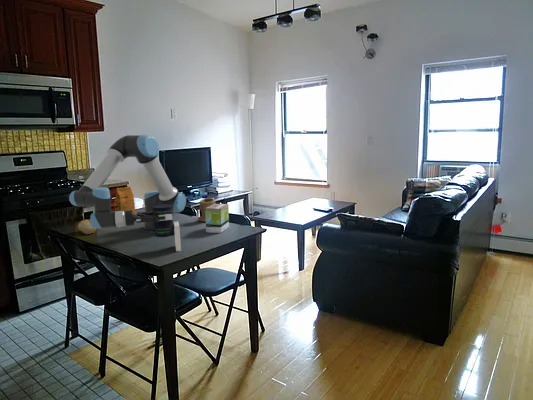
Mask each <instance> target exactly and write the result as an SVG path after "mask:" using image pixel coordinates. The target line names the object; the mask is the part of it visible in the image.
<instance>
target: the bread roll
mask: <svg viewBox="0 0 533 400" xmlns="http://www.w3.org/2000/svg"><path fill="white" fill-rule="evenodd" d="M77 229H78V230H79V231H80V232H81V233H83V234H85V235H88V234H90V235H92V234H91V233H93V234H95V233H96V230H97V228H93V227H92V226H91V218H89V219H83V220H81V221H79V222H78V224H77Z"/></svg>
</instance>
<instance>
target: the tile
mask: <svg viewBox="0 0 533 400" xmlns="http://www.w3.org/2000/svg"><path fill="white" fill-rule="evenodd" d="M173 223H174V245H175V246H174V247H175V251H176V252H182V244H181V243H182V242H181V228H180V223H179V221H178V220H177V221H173Z"/></svg>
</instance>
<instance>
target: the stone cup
mask: <svg viewBox="0 0 533 400" xmlns="http://www.w3.org/2000/svg"><path fill="white" fill-rule="evenodd" d="M213 204H217V203H216V200H215V199H214V198H213V197H206V198H203V199H201V200H200V201H199V210H200V213H201V216H198V217H197V221H199V222H206V212H205V208H207V207H209V206H211V205H213Z"/></svg>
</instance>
